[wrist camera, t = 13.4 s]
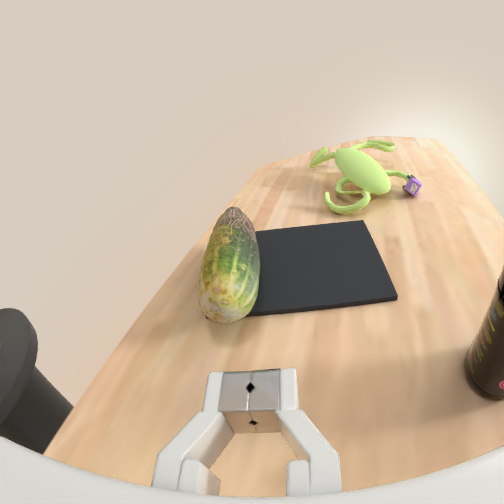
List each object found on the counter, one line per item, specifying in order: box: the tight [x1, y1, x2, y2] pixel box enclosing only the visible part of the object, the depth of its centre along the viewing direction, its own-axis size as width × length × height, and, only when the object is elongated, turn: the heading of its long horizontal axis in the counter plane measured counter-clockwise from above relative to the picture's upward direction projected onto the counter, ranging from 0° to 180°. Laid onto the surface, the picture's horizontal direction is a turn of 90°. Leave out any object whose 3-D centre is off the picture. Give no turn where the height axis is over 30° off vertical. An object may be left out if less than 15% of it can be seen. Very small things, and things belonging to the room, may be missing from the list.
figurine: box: [310, 140, 422, 214], centre depth 53 cm, size 18×27×6 cm
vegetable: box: [199, 207, 260, 324], centre depth 35 cm, size 6×6×20 cm
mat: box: [205, 220, 398, 319], centre depth 37 cm, size 20×16×1 cm
